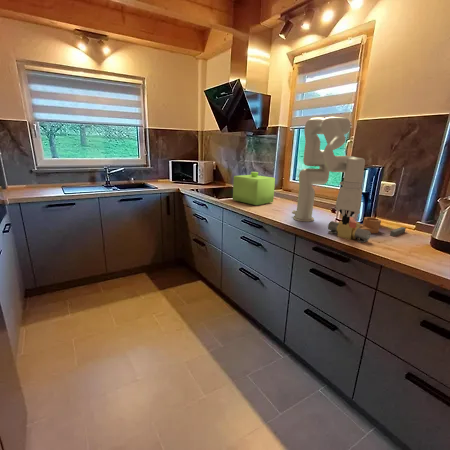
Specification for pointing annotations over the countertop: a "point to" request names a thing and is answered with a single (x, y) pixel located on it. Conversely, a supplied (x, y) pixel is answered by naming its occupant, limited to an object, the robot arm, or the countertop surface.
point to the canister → (253, 189)
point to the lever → (352, 222)
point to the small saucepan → (371, 224)
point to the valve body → (349, 231)
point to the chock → (397, 231)
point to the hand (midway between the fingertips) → (345, 224)
